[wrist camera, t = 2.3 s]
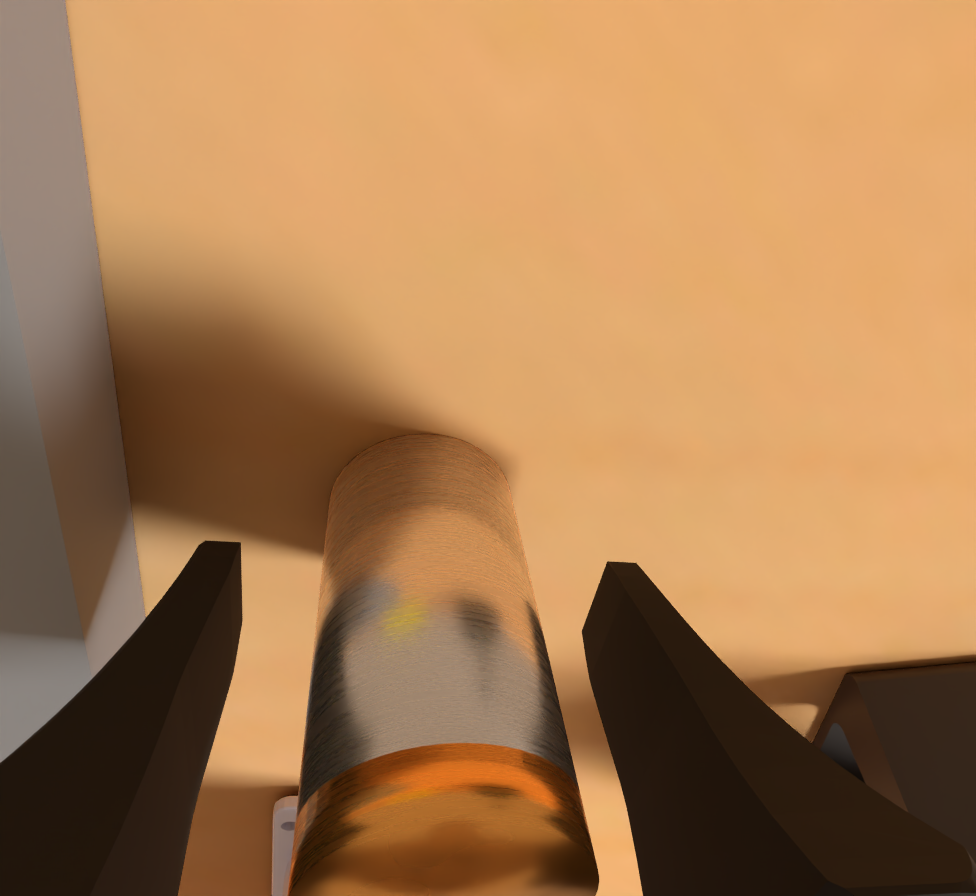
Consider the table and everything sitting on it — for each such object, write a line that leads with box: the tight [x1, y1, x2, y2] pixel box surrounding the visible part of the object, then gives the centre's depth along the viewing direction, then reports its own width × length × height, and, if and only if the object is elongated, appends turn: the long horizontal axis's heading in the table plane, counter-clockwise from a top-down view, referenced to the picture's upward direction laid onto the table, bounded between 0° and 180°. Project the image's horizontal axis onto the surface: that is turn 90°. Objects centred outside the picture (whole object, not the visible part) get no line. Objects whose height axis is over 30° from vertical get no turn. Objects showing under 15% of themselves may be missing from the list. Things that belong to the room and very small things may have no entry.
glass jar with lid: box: [288, 434, 599, 896], centre depth 12 cm, size 4×4×8 cm
